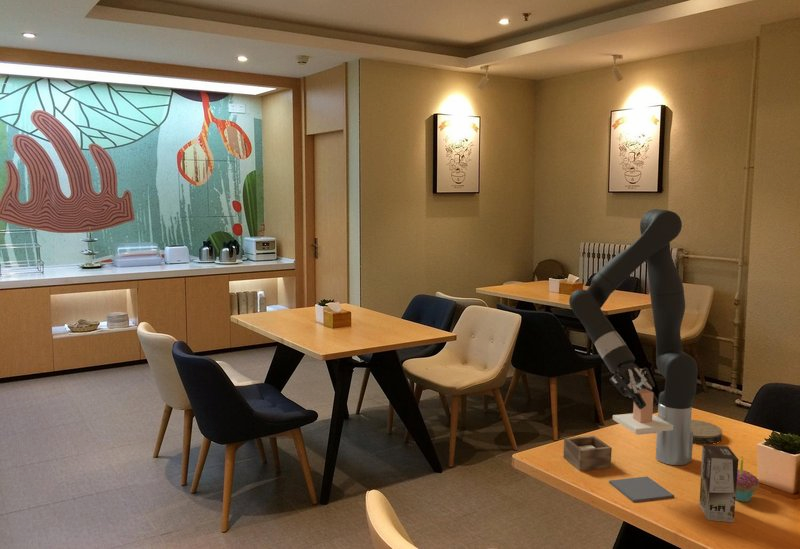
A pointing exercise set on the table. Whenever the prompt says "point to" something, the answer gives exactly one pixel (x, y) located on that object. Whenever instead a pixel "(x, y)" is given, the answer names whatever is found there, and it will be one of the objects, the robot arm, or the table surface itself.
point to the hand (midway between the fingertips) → (649, 405)
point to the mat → (641, 489)
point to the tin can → (705, 432)
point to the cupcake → (745, 484)
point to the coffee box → (718, 483)
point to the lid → (643, 417)
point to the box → (587, 453)
